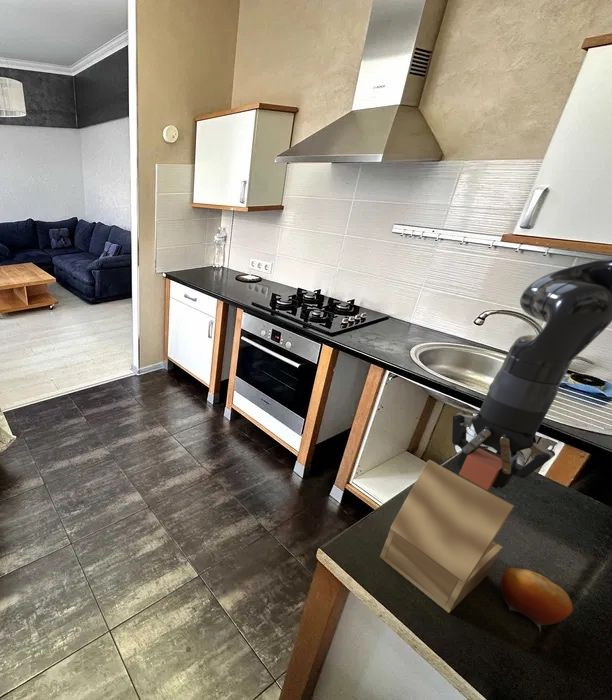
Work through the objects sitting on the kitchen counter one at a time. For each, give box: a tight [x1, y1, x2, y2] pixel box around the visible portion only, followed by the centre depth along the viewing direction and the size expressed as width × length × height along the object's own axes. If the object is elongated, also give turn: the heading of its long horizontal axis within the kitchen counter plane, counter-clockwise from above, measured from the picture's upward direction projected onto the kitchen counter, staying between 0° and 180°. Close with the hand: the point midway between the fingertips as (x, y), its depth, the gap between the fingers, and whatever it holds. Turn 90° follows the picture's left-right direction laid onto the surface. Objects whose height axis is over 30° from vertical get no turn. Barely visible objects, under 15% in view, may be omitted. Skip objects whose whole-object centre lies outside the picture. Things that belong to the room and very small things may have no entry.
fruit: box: [500, 567, 574, 633], centre depth 61 cm, size 8×8×8 cm
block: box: [458, 447, 502, 491], centre depth 68 cm, size 4×4×4 cm
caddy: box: [379, 528, 504, 614], centre depth 68 cm, size 14×12×7 cm
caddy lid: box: [390, 459, 516, 583], centre depth 61 cm, size 14×12×1 cm
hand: (479, 476), depth 69 cm, fingers closed on block, 4 cm apart
